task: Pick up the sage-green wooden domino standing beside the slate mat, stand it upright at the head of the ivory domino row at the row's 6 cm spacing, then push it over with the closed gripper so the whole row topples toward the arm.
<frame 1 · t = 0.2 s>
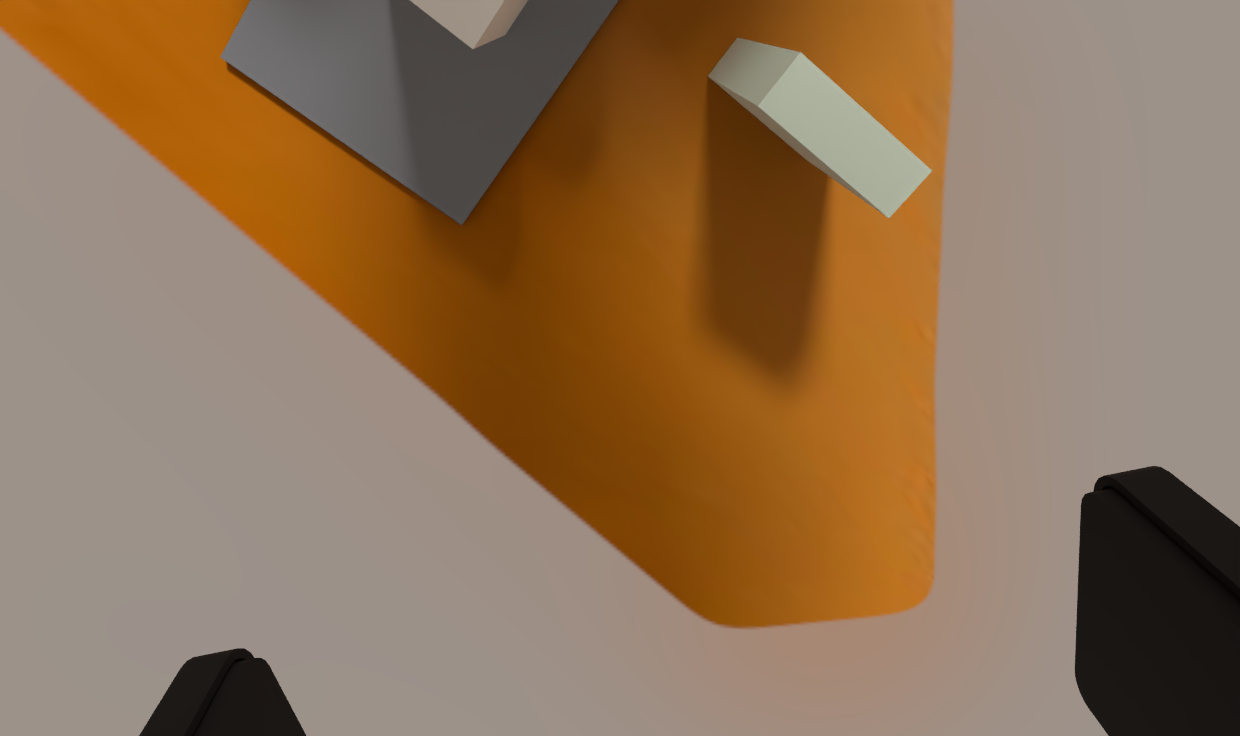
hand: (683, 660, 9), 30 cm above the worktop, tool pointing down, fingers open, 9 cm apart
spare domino: (772, 100, 36), on the worktop
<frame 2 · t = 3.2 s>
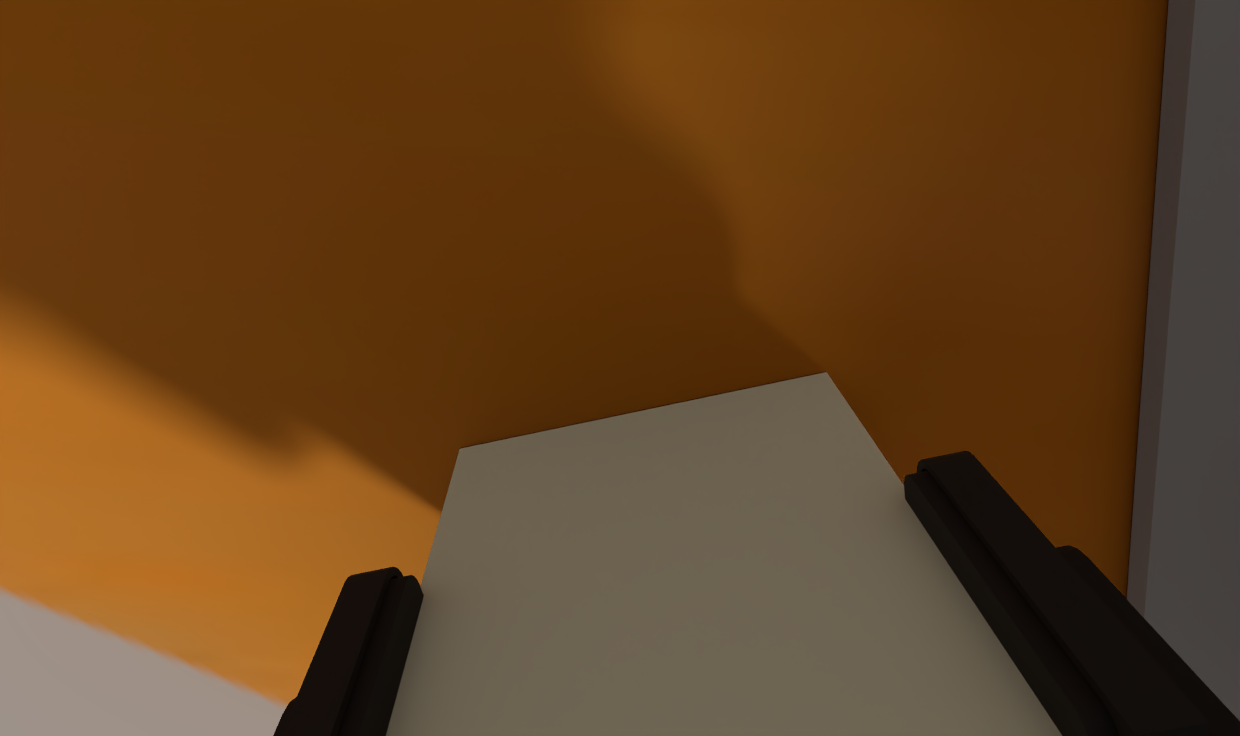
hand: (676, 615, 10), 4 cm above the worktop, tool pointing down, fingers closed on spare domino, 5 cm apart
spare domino: (653, 463, 13), on the worktop, touching gripper
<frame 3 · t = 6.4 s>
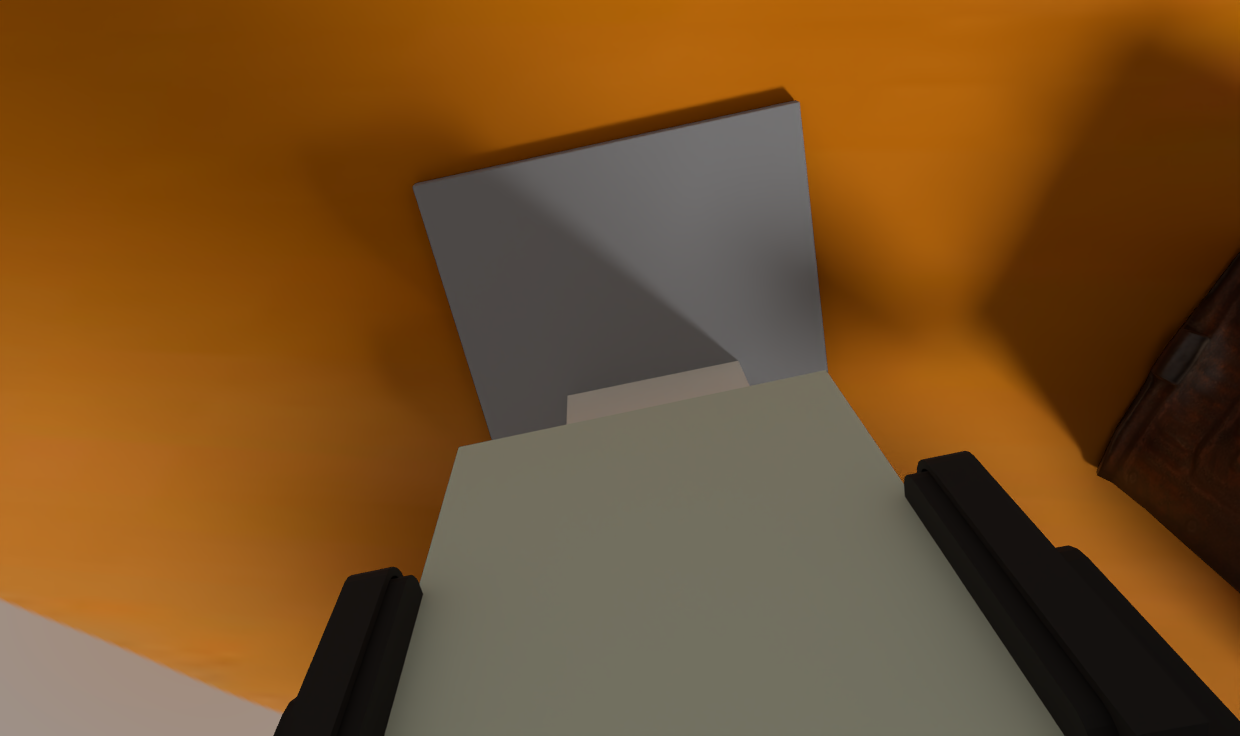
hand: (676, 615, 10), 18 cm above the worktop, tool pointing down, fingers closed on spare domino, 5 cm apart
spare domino: (652, 461, 13), point 14 cm above the worktop, touching gripper
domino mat: (673, 479, 30), on the worktop
dark block with crank: (1226, 444, 30), on the worktop
domino a: (657, 403, 28), resting on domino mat
when the fingers open (5 cm above the worktop, at t = 9.9 s): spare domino stays where it is, resting on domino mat.
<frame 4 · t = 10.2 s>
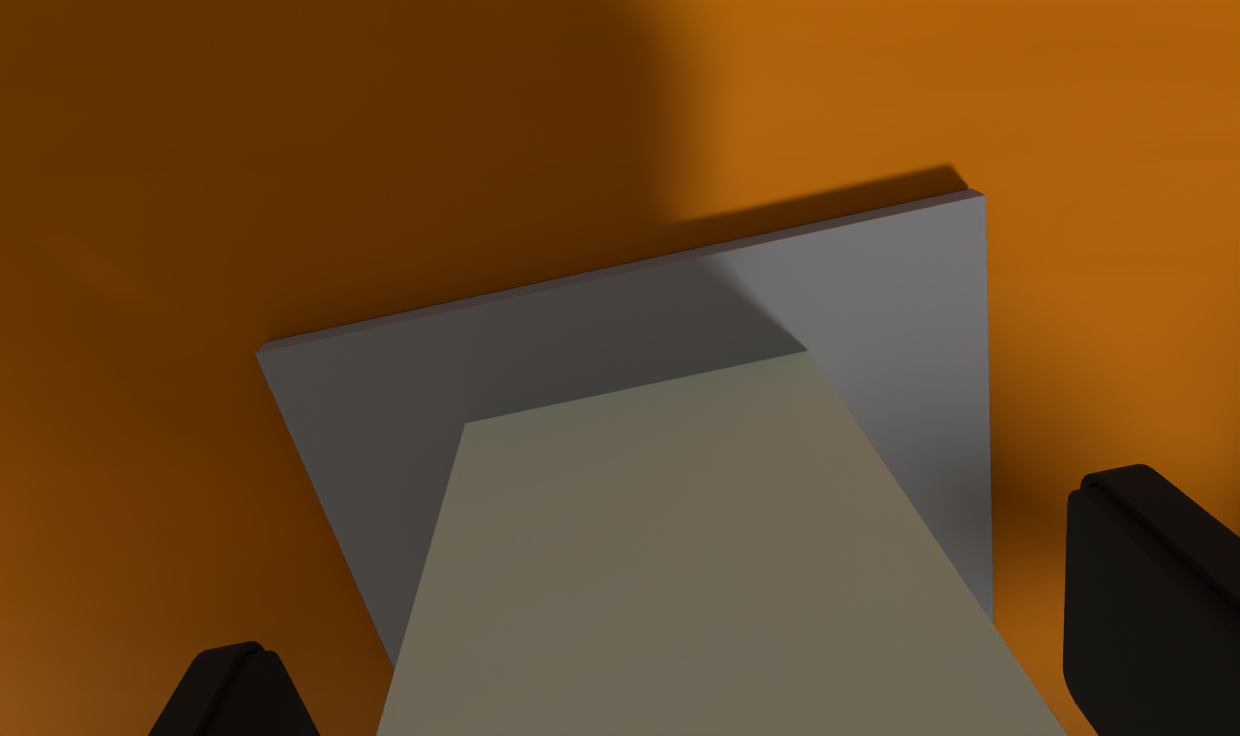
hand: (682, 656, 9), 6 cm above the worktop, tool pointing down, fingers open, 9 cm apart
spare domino: (646, 437, 14), resting on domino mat
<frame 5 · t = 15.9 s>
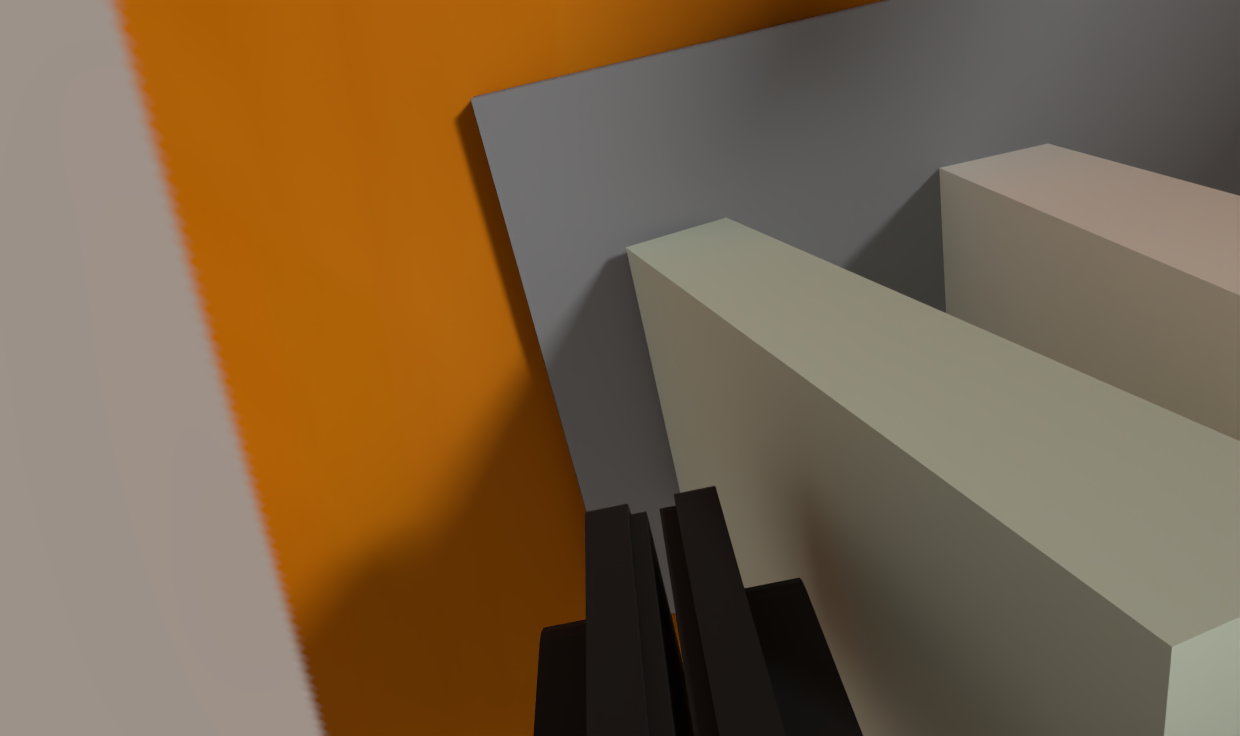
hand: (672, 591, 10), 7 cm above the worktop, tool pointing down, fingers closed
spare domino: (704, 376, 16), point 1 cm above the worktop, tilted 14°, touching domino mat
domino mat: (1157, 260, 16), on the worktop
domino a: (996, 306, 16), resting on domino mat
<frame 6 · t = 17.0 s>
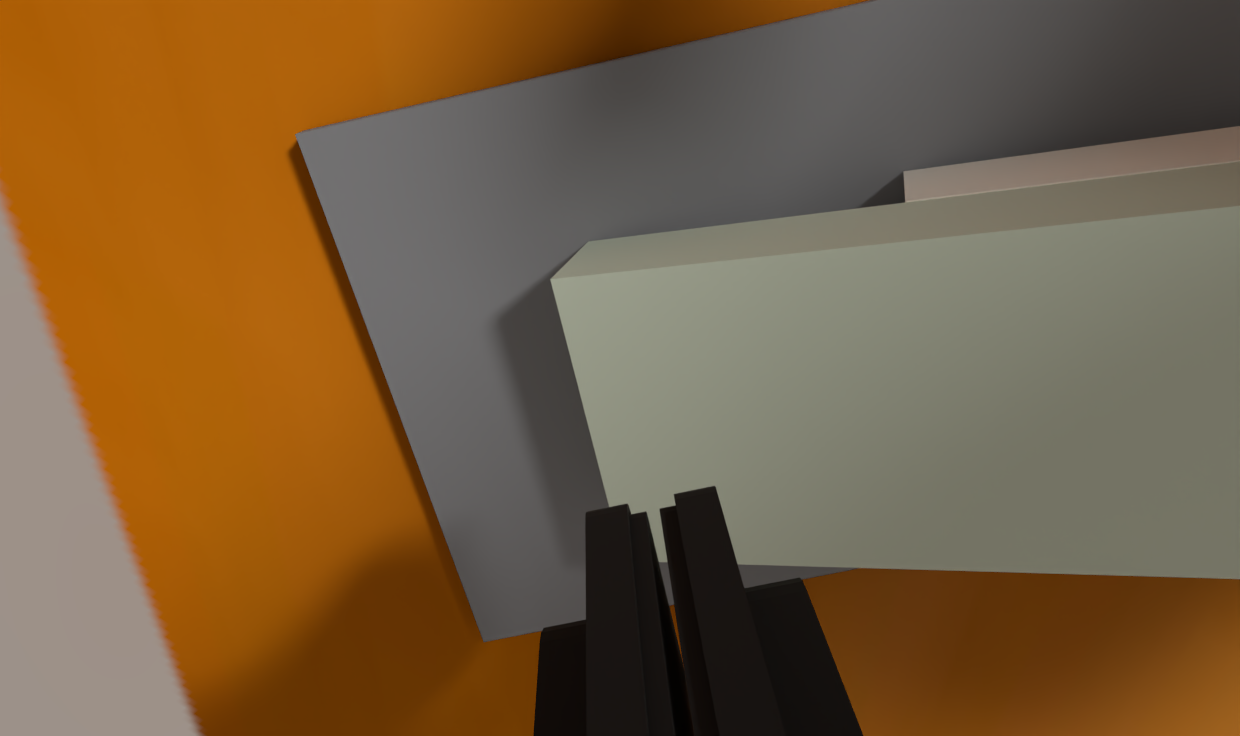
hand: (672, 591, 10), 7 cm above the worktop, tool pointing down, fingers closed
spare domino: (606, 405, 15), point 1 cm above the worktop, tilted 70°, touching domino a, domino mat
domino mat: (993, 291, 16), on the worktop
domino a: (913, 339, 15), point 1 cm above the worktop, tilted 70°, touching domino b, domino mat, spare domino
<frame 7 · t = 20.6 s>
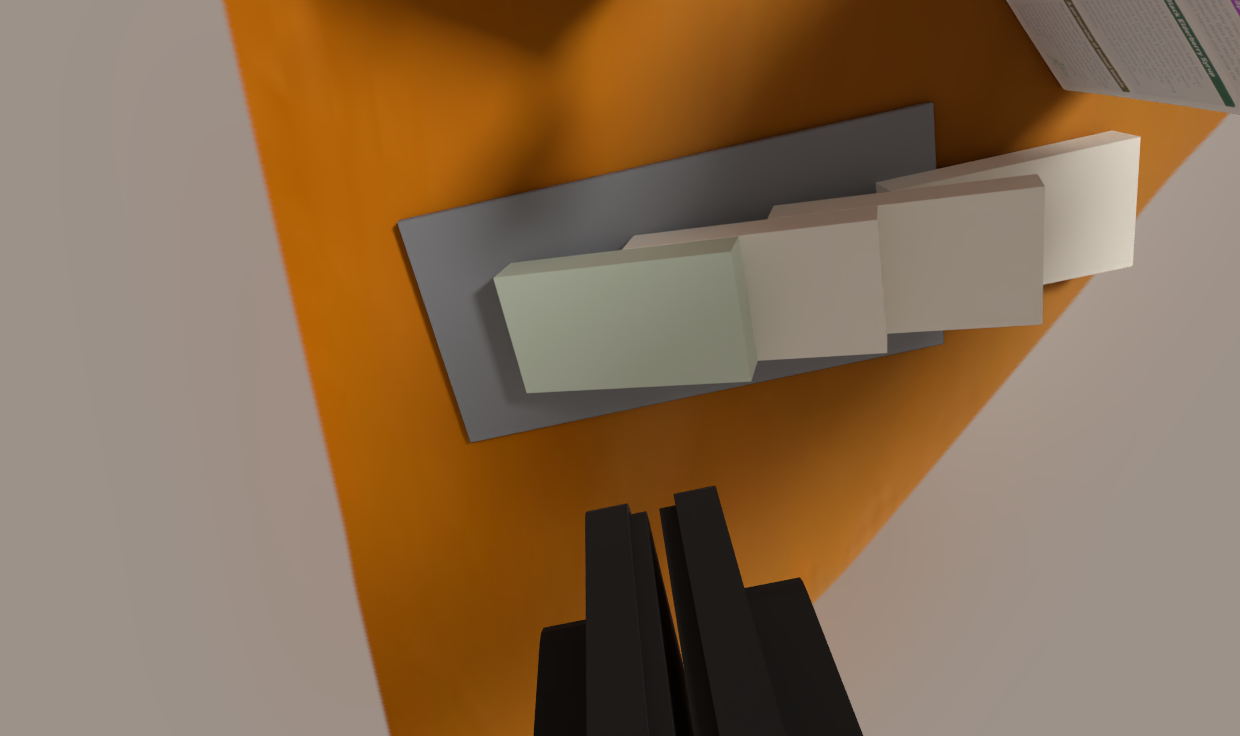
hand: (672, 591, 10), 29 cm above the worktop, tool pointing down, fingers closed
domino c: (887, 249, 37), point 1 cm above the worktop, tilted 90°, touching domino b, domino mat
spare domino: (518, 328, 38), point 1 cm above the worktop, tilted 70°, touching domino a, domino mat
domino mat: (682, 282, 39), on the worktop
domino b: (778, 273, 37), point 2 cm above the worktop, tilted 70°, touching domino a, domino c
domino a: (640, 302, 38), point 1 cm above the worktop, tilted 70°, touching domino b, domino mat, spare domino
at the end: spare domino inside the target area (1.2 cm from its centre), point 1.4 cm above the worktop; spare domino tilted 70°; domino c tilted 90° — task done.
